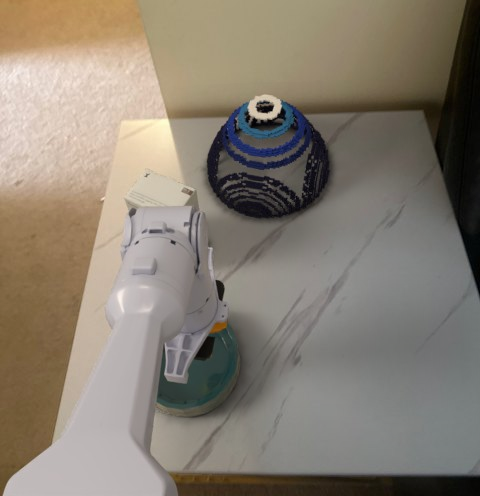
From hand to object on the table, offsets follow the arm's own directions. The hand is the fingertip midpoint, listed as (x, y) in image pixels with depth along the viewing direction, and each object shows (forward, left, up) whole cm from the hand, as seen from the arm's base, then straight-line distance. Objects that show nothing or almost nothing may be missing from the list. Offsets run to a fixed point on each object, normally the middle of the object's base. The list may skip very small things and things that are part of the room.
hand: (201, 339), depth 66 cm
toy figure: (0, 0, -4) cm, 4 cm away
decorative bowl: (+34, -3, -11) cm, 36 cm away
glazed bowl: (0, +3, -10) cm, 11 cm away
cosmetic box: (+17, +9, -11) cm, 22 cm away
